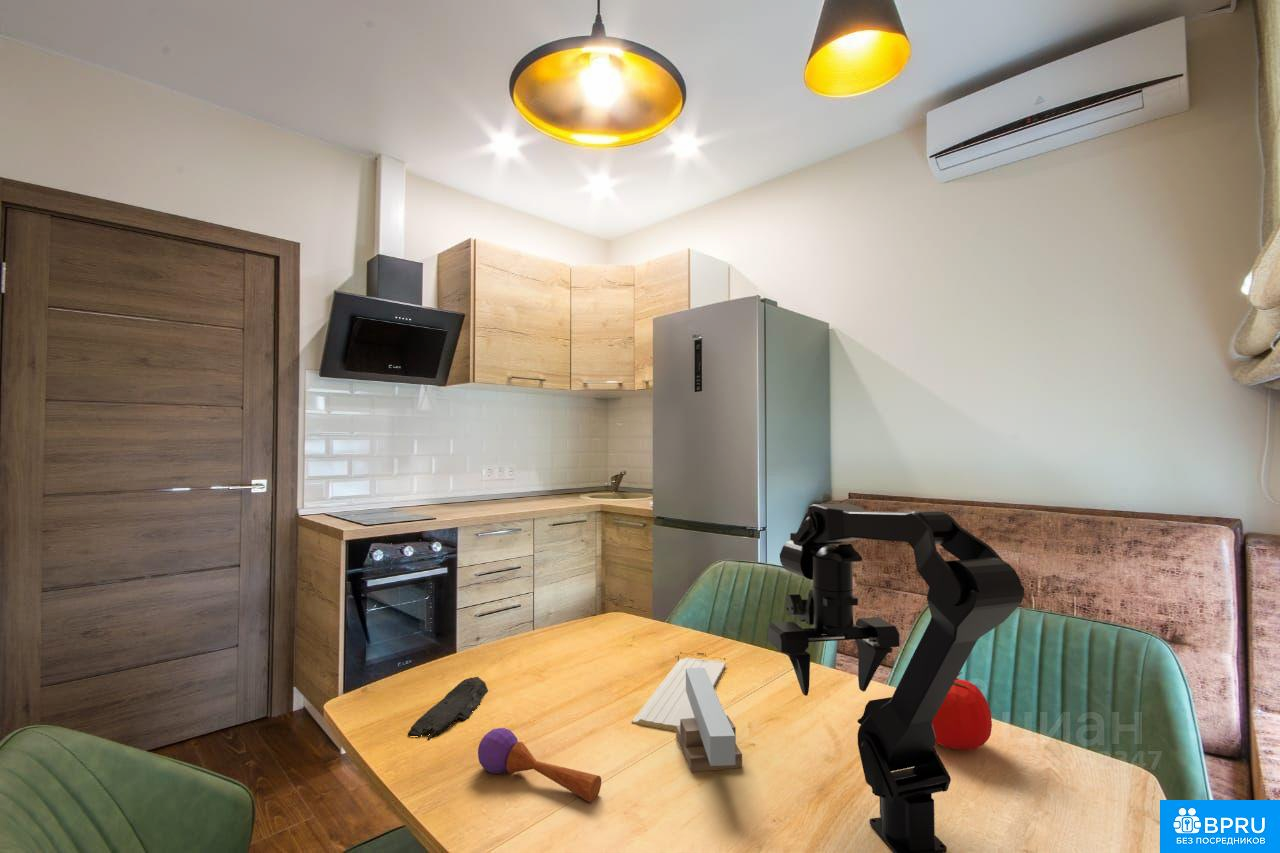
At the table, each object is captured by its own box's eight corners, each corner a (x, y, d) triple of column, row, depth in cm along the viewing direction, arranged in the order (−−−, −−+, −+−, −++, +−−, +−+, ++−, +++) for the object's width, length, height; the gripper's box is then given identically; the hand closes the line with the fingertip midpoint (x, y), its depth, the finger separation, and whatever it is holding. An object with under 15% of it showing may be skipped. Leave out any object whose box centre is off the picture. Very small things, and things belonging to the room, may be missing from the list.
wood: (444, 744, 92) (445, 725, 92) (404, 740, 93) (404, 721, 93) (502, 688, 114) (502, 673, 114) (468, 685, 115) (468, 670, 115)
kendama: (583, 785, 74) (468, 739, 83) (584, 825, 75) (470, 774, 84) (605, 755, 79) (495, 714, 88) (606, 792, 80) (497, 748, 89)
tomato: (994, 740, 93) (992, 672, 93) (991, 773, 83) (989, 697, 84) (915, 720, 100) (914, 656, 100) (904, 748, 90) (902, 678, 90)
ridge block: (742, 767, 85) (742, 737, 85) (691, 772, 83) (691, 741, 84) (722, 734, 95) (722, 707, 95) (676, 737, 93) (676, 710, 93)
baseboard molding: (624, 725, 99) (689, 737, 95) (624, 708, 99) (689, 720, 95) (674, 662, 128) (725, 669, 124) (674, 649, 128) (725, 656, 124)
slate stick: (735, 765, 77) (735, 735, 78) (710, 765, 77) (710, 736, 77) (704, 690, 101) (704, 667, 101) (685, 690, 101) (685, 668, 101)
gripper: (860, 573, 93) (861, 667, 93) (754, 577, 90) (754, 674, 90) (901, 589, 82) (903, 697, 82) (782, 595, 79) (783, 706, 79)
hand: (833, 692), depth 83 cm, fingers open, 9 cm apart
